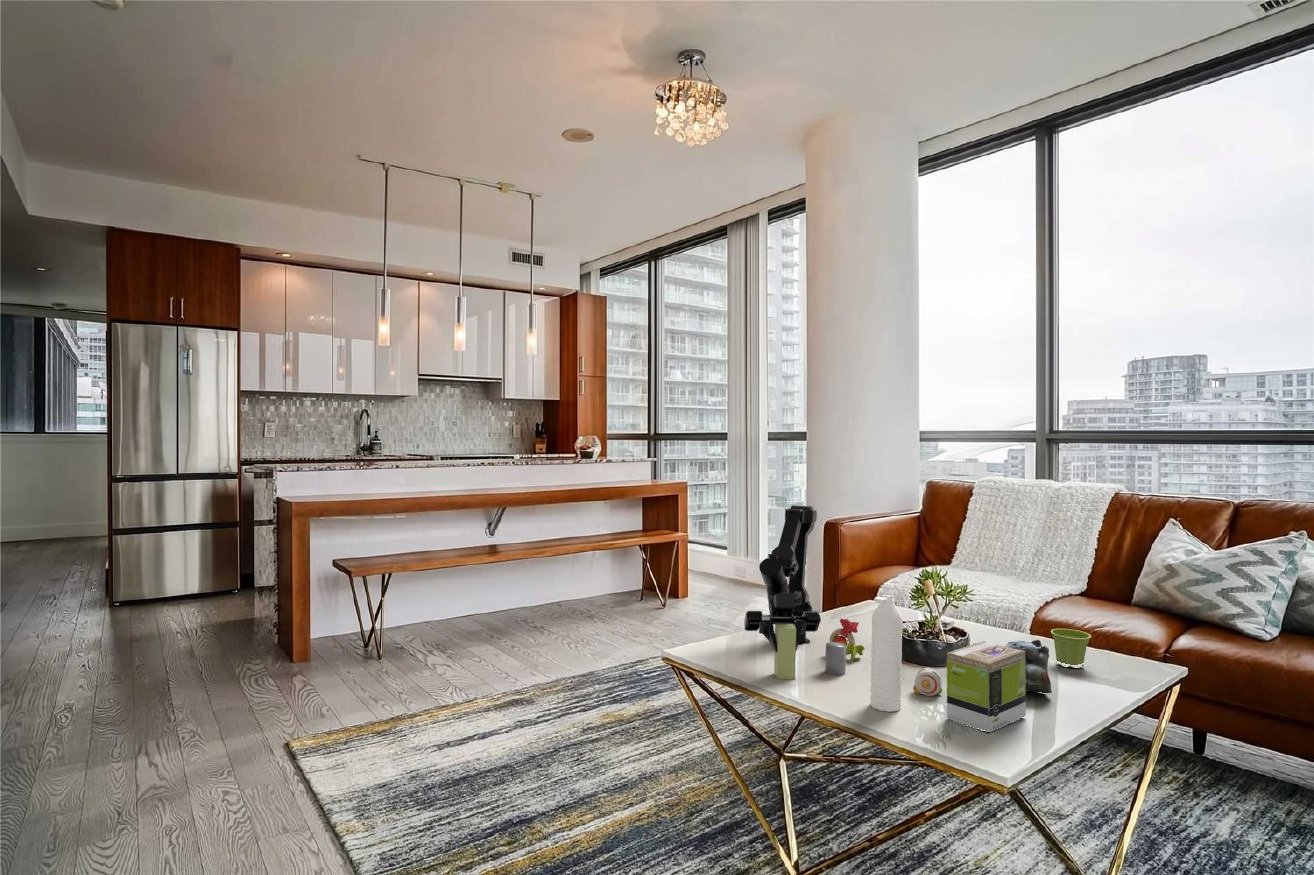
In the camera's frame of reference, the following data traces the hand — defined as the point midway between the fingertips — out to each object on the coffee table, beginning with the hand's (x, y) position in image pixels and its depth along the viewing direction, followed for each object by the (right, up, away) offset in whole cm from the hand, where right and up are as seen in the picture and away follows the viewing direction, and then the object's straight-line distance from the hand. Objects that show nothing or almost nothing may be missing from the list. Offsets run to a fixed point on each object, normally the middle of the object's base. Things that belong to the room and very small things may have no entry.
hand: (786, 651), depth 185 cm
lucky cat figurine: (+54, -8, -6) cm, 55 cm away
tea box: (+39, -8, -24) cm, 46 cm away
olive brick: (0, -7, +1) cm, 7 cm away
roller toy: (+32, -7, -9) cm, 34 cm away
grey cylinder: (+13, -7, +5) cm, 16 cm away
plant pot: (+78, -8, +14) cm, 80 cm away
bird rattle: (+19, -7, +18) cm, 27 cm away
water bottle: (+18, -7, -19) cm, 28 cm away
